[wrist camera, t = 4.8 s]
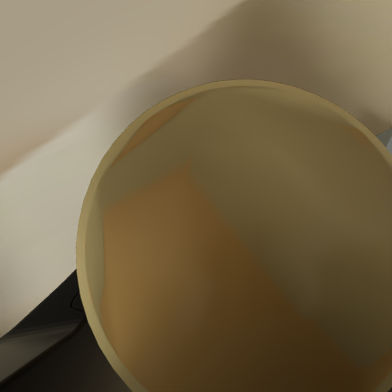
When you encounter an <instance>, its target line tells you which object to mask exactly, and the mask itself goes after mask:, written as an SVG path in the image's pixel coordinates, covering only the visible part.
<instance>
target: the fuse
mask: <svg viewBox="0 0 392 392" xmlns="http://www.w3.org/2000/svg"><path fill="white" fill-rule="evenodd" d="M76 265H77V277H78V283H79V289H80V295H81V299H82V303H83V306H84V310H85V313H86V316H87V320H88V323H89V325H90V327H91V329H92V331H93V334H94V336H95V338H96V340H97V343H98V345H99V347H100V348H101V350H102V352H103V353H104V355H105V356H106V358H107V360H108V361H109V363H110V364H111V366H112V368H113V369H114V370H115V372H116V373H117V374H118V375H119V376H120V378H121V379H122V380H123V381H124V382H125V383H126V385H127V386H128V387H129V388H130V389H131V391H132V392H388V391H389V390H390V389H391V388H392V155H391V153H390V152H389V151H388V150H387V148H386V147H385V146H384V145H383V143H382V142H381V141H380V140H379V139H378V138H377V137H376V136H375V135H374V134H373V133H372V132H371V131H370V130H369V129H368V128H367V127H366V126H364V125H363V124H362V123H361V122H360V121H358V120H357V119H356V118H355V117H353V116H352V115H351V114H349V113H348V112H346V111H345V110H343V109H342V108H340V107H338V106H337V105H335V104H334V103H332V102H330V101H328V100H326V99H324V98H322V97H320V96H318V95H316V94H314V93H311V92H308V91H305V90H303V89H300V88H297V87H294V86H290V85H286V84H282V83H278V82H271V81H263V80H244V79H236V80H226V81H217V82H212V83H208V84H204V85H199V86H196V87H193V88H190V89H187V90H185V91H182V92H179V93H177V94H175V95H173V96H171V97H169V98H167V99H165V100H163V101H161V102H159V103H158V104H156V105H155V106H153V107H152V108H150V109H149V110H147V111H146V112H144V113H143V114H142V115H141V116H140V117H138V118H137V119H136V120H135V121H134V122H133V123H131V124H130V125H129V126H128V127H127V128H126V129H125V130H124V132H123V133H122V134H121V135H120V136H119V137H118V138H117V139H116V140H115V141H114V143H113V144H112V146H111V147H110V149H109V150H108V151H107V153H106V154H105V156H104V157H103V159H102V160H101V162H100V164H99V166H98V168H97V170H96V172H95V174H94V175H93V177H92V179H91V182H90V185H89V187H88V190H87V193H86V195H85V198H84V201H83V205H82V210H81V214H80V218H79V223H78V232H77V242H76Z"/></svg>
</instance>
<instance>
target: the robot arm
mask: <svg viewBox="0 0 392 392" xmlns="http://www.w3.org/2000/svg"><path fill="white" fill-rule="evenodd" d="M0 392H132V391H131V389H130V388H129V387H128V386H127V385H126V383H125V382H124V381H123V380H122V379H121V378H120V376H119V375H118V374H117V373H116V372H115V370H114V369H113V368H112V366H111V364H110V363H109V361H108V360H107V358H106V356H105V355H104V353H103V352H102V350H101V348H100V347H99V345H98V343H97V340H96V338H95V336H94V334H93V331H92V329H91V327H90V325H89V323H88V320H87V316H86V313H85V310H84V306H83V303H82V299H81V295H80V289H79V283H78V277H77V268H76V269H75V270H74V272H73V273H72V274H71V275H70V276H69V277H68V278H67V279H66V280H65V281H64V282H63V283H62V284H60V285H59V286H58V287H57V288H56V289H55V290H54V291H53V292H52V293H51V294H50V295H49V296H48V297H47V298H46V299H44V300H43V301H42V302H41V303H40V304H39V305H38V306H37V307H36V308H35V309H34V310H32V311H31V312H30V313H29V314H28V315H27V316H26V317H25V318H24V319H23V320H22V321H20V322H19V323H18V324H17V325H16V326H15V327H14V328H13V329H11V330H10V331H9V332H8V333H6V334H5V335H4V336H2V337H1V338H0ZM388 392H392V388H391V389H390V390H389V391H388Z"/></svg>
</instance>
